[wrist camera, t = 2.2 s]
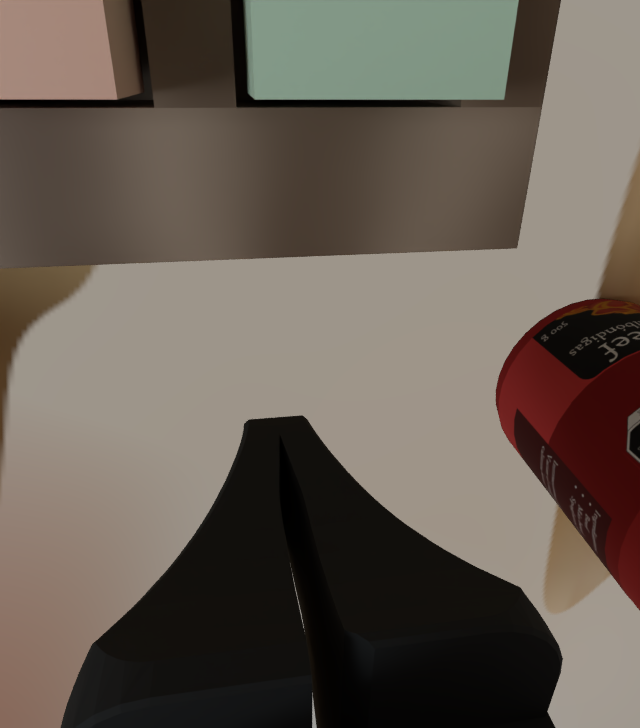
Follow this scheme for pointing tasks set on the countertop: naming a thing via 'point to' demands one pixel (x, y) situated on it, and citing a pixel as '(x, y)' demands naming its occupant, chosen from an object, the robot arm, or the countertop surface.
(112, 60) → the key terracotta
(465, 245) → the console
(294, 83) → the key green
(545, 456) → the canned food
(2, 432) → the countertop surface
